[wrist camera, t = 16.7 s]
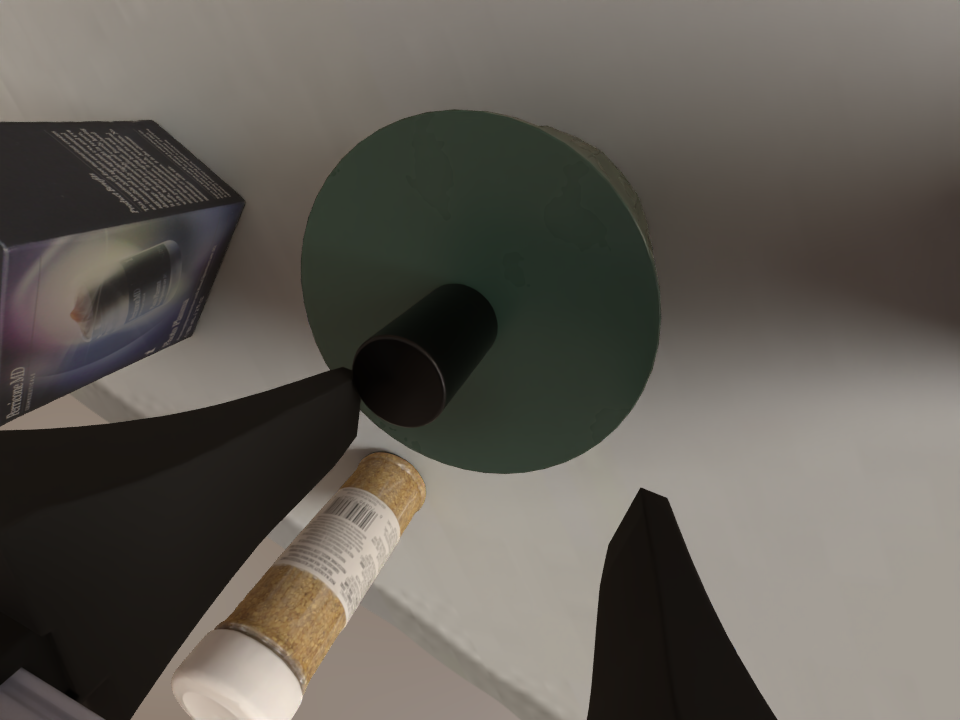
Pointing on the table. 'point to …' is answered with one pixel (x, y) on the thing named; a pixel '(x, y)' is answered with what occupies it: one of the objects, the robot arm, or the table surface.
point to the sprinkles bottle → (301, 600)
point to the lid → (482, 290)
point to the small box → (100, 251)
